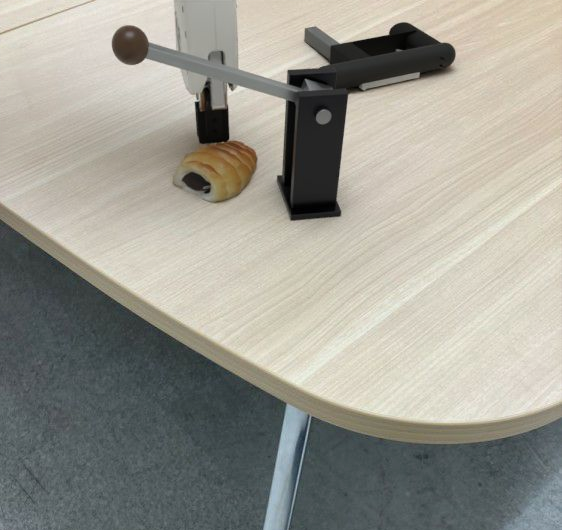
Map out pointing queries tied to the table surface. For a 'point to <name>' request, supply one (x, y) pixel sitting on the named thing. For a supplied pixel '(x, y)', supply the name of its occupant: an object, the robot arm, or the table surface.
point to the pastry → (217, 170)
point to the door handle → (382, 56)
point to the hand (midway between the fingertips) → (213, 138)
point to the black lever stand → (313, 146)
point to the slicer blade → (199, 65)
